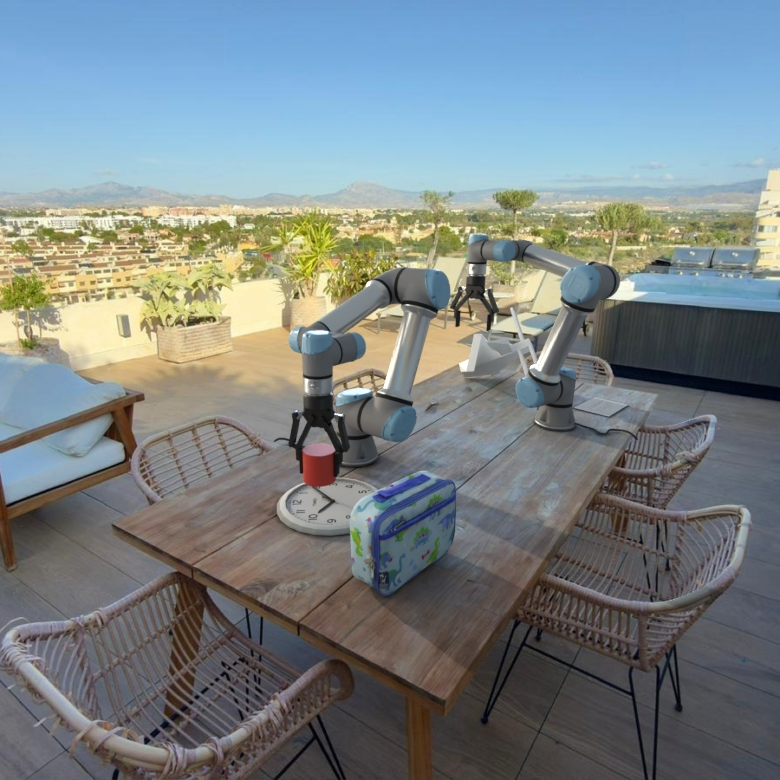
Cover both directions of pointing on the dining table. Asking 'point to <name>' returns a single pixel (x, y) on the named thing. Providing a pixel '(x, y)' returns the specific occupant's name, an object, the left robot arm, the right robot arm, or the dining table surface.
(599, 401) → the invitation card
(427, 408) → the fork
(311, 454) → the canister
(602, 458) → the dining table surface
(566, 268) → the right robot arm
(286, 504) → the wall clock
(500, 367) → the white plastic object
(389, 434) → the left robot arm
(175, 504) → the dining table surface
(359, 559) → the lunch box
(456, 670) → the dining table surface
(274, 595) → the dining table surface
